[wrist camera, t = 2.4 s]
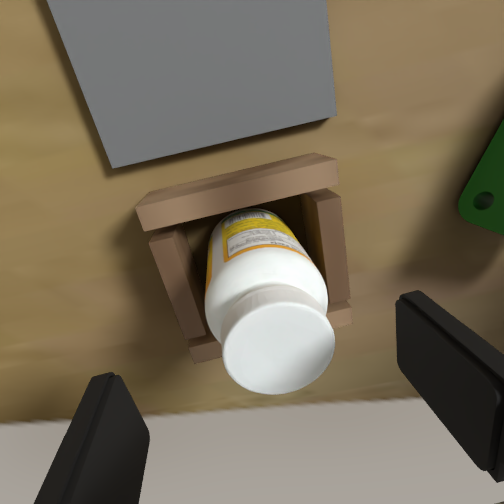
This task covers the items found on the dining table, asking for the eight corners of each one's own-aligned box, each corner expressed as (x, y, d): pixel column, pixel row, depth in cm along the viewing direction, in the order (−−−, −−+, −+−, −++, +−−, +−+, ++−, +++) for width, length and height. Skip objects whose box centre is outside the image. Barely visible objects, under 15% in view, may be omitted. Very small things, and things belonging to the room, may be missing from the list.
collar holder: (314, 152, 18) (336, 159, 14) (332, 293, 21) (352, 323, 18) (149, 192, 17) (134, 207, 14) (197, 327, 21) (194, 363, 18)
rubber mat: (299, -211, 12) (304, -233, 11) (331, 116, 17) (336, 115, 16) (-4, -147, 12) (-18, -165, 11) (116, 166, 17) (112, 168, 16)
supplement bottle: (244, 187, 18) (275, 250, 9) (309, 240, 20) (387, 335, 11) (189, 256, 19) (170, 369, 10) (255, 299, 21) (286, 428, 12)
